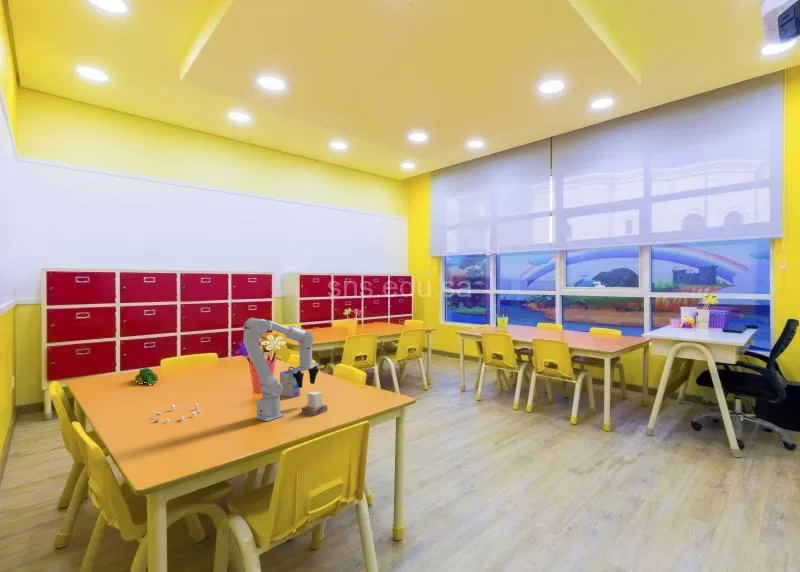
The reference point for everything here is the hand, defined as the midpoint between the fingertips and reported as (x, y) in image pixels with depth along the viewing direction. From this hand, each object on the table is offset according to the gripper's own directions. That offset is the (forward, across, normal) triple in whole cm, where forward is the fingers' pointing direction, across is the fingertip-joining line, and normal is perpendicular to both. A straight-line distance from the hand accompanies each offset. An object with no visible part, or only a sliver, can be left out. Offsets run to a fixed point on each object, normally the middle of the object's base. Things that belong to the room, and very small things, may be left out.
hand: (306, 385), depth 185 cm
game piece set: (+10, -39, +41) cm, 57 cm away
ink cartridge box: (+10, +8, +21) cm, 25 cm away
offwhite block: (+7, -3, -9) cm, 12 cm away
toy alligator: (+10, -18, +122) cm, 123 cm away
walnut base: (+10, -4, -9) cm, 14 cm away
